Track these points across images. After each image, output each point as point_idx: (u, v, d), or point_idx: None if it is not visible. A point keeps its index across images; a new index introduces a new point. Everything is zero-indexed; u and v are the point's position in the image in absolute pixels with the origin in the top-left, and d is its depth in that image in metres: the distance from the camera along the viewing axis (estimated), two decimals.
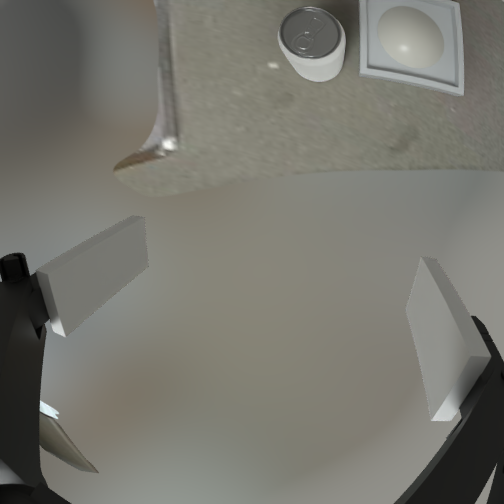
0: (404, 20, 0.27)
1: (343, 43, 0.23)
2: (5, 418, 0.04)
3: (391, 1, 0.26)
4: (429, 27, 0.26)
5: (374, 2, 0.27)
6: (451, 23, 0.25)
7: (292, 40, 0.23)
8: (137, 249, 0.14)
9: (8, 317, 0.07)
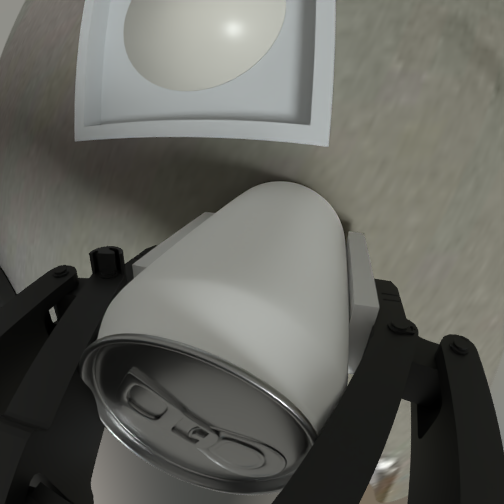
0: (157, 31, 0.13)
1: (230, 302, 0.05)
2: (62, 433, 0.04)
3: (116, 65, 0.14)
4: None
5: (123, 100, 0.15)
6: None
7: (229, 471, 0.06)
8: None
9: (91, 319, 0.07)
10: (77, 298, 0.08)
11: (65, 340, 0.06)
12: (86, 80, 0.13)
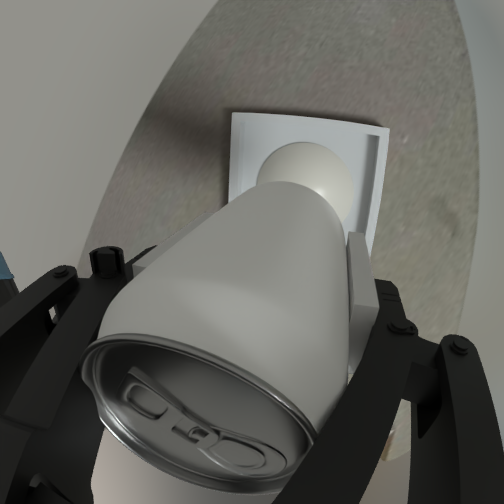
0: None
1: (231, 302, 0.05)
2: (62, 433, 0.04)
3: None
4: (285, 162, 0.27)
5: None
6: (270, 123, 0.27)
7: (229, 470, 0.06)
8: None
9: (91, 319, 0.07)
10: (77, 298, 0.08)
11: (65, 340, 0.06)
12: None
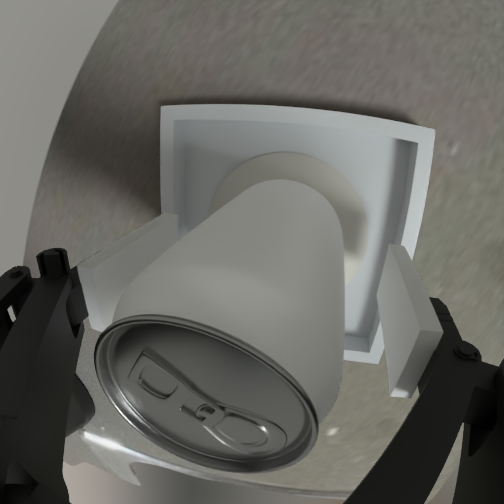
0: None
1: (236, 286, 0.06)
2: (30, 422, 0.04)
3: None
4: None
5: None
6: (226, 121, 0.16)
7: (234, 449, 0.07)
8: (170, 246, 0.15)
9: (43, 316, 0.07)
10: (29, 299, 0.08)
11: (22, 337, 0.06)
12: None
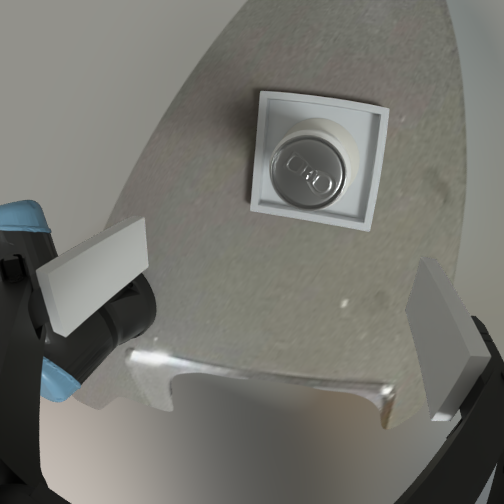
0: None
1: (321, 133, 0.21)
2: (5, 418, 0.04)
3: None
4: None
5: (276, 193, 0.35)
6: (291, 101, 0.31)
7: (317, 196, 0.23)
8: (137, 249, 0.14)
9: (8, 317, 0.07)
10: None
11: None
12: (260, 181, 0.34)
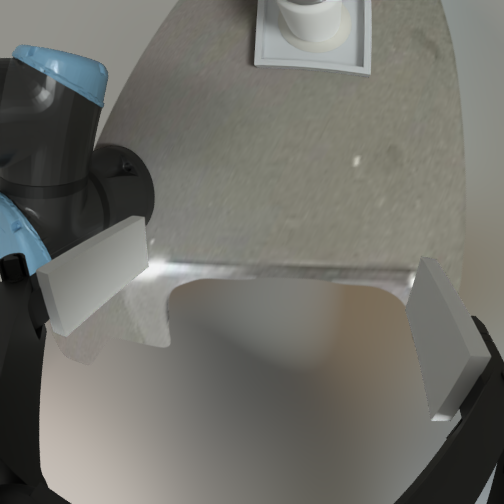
0: None
1: None
2: (5, 418, 0.04)
3: (274, 36, 0.31)
4: None
5: (278, 52, 0.32)
6: None
7: None
8: (137, 249, 0.14)
9: (8, 317, 0.07)
10: None
11: None
12: (262, 39, 0.31)
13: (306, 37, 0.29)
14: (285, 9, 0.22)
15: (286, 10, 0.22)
